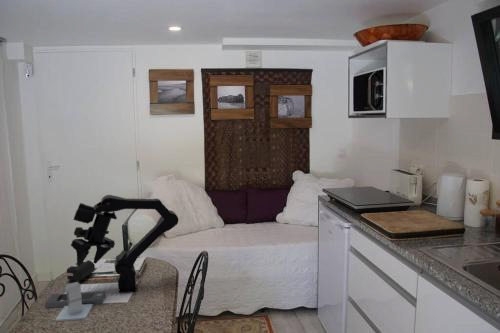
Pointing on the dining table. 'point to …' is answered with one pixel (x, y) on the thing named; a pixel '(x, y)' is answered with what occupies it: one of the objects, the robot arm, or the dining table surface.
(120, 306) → the dining table surface
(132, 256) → the robot arm
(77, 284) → the block
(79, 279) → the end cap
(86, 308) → the tile
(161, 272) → the dining table surface
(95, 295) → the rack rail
